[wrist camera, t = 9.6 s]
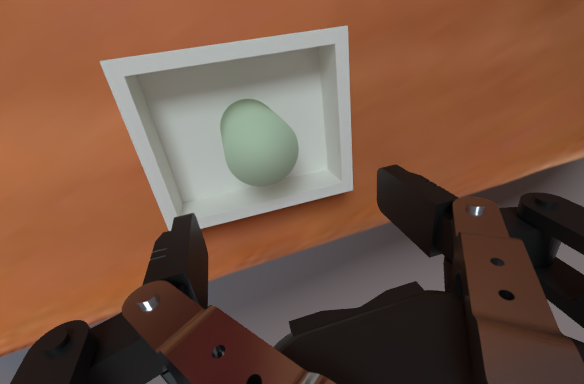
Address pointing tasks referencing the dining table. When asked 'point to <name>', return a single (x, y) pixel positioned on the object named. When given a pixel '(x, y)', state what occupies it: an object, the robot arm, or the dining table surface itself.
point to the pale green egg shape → (257, 143)
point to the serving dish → (211, 105)
